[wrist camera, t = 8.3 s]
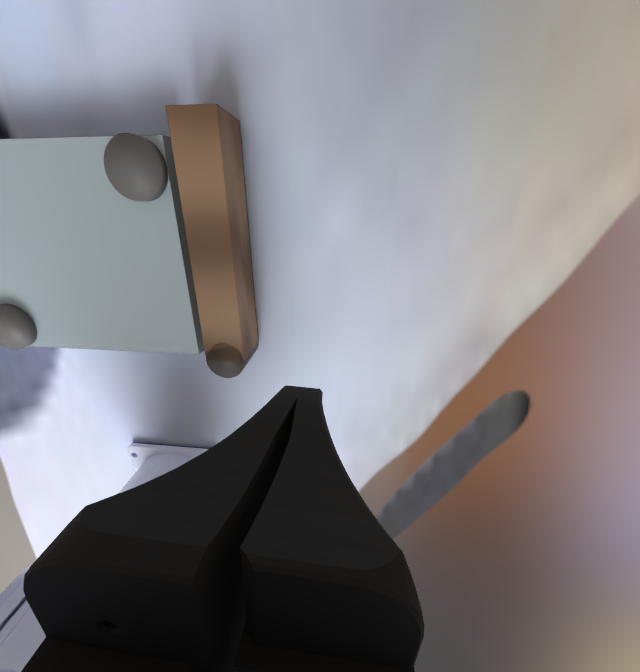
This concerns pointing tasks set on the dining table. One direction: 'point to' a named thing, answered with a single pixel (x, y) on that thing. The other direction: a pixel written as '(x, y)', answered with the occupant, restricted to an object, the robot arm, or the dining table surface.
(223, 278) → the folding leg
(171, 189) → the grey flat block
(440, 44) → the dining table surface
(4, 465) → the dining table surface
